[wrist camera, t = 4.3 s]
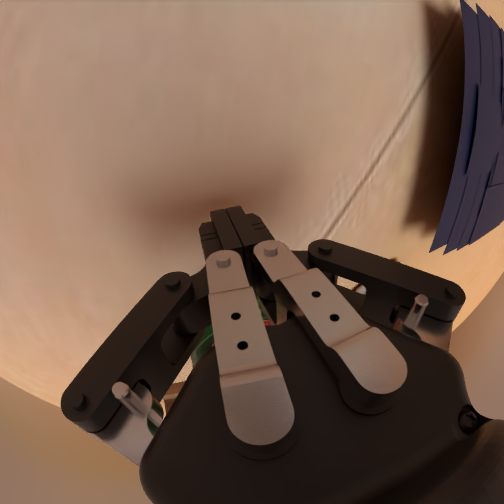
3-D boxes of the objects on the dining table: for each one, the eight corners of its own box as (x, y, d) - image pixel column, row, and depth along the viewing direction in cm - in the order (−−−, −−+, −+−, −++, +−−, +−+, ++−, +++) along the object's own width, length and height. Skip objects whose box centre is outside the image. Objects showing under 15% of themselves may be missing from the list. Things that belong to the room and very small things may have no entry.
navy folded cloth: (425, -24, 7) (465, -23, 5) (517, 73, 17) (536, 80, 14) (399, 254, 21) (428, 277, 19) (495, 209, 31) (511, 220, 28)
